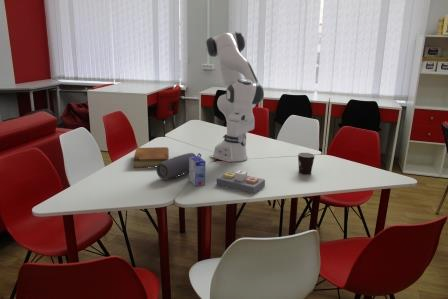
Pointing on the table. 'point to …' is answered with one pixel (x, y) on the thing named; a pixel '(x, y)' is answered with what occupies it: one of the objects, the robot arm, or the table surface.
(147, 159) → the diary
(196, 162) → the ink cartridge box
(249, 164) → the table surface
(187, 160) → the bluetooth speaker
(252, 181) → the key
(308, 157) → the coffee mug
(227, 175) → the key
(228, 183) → the grey keypad base
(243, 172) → the key
